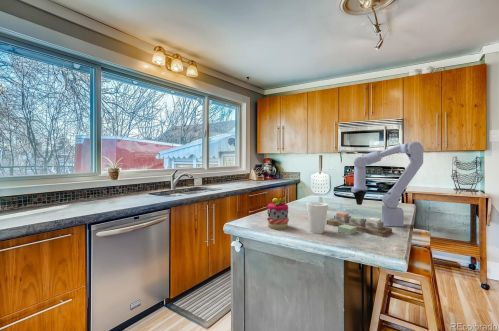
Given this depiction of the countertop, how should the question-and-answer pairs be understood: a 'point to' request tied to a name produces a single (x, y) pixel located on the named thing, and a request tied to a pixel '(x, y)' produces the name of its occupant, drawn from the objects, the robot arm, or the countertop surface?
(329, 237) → the countertop surface
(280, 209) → the cake
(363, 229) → the button console
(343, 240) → the countertop surface
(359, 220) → the sage button
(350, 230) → the block
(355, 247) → the countertop surface
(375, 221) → the cream button
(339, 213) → the terracotta button
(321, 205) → the foam cup
